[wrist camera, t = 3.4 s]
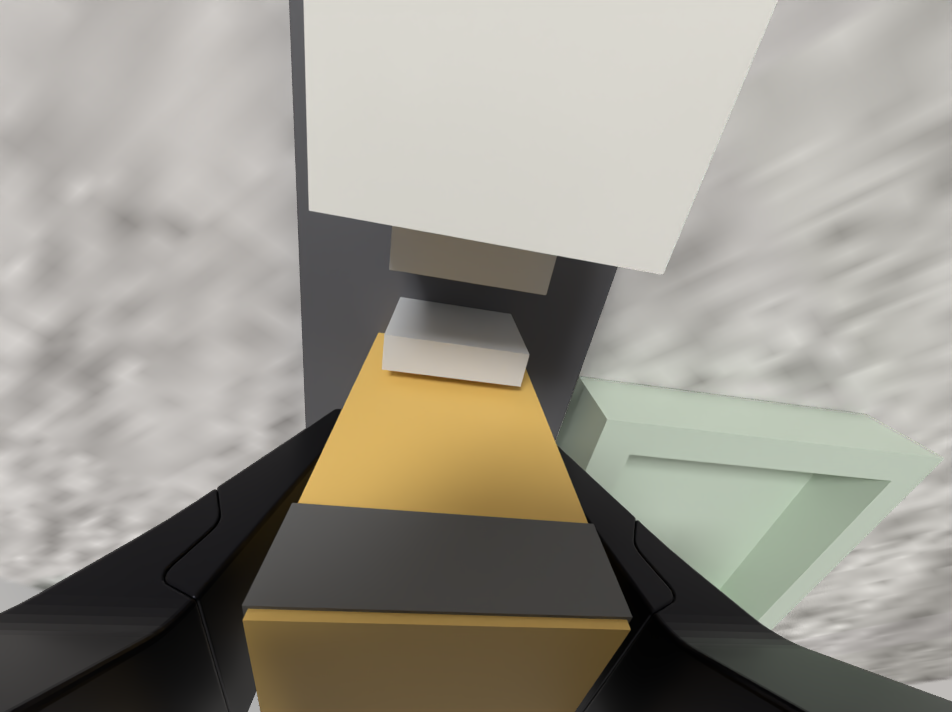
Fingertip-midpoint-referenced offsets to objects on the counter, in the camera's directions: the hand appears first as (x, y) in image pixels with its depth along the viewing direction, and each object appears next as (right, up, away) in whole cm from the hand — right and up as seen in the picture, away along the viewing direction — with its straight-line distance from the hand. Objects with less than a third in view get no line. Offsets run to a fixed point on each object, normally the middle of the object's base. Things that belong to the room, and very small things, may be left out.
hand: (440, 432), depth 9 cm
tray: (+10, -5, +7) cm, 13 cm away
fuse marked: (0, +1, +1) cm, 2 cm away
